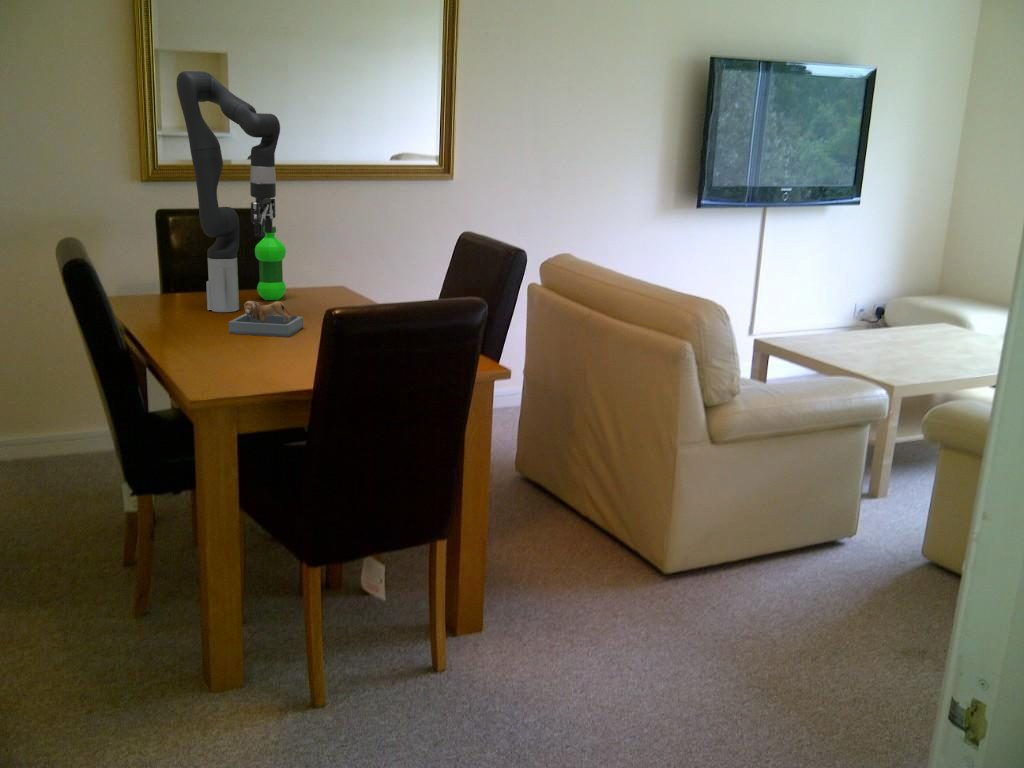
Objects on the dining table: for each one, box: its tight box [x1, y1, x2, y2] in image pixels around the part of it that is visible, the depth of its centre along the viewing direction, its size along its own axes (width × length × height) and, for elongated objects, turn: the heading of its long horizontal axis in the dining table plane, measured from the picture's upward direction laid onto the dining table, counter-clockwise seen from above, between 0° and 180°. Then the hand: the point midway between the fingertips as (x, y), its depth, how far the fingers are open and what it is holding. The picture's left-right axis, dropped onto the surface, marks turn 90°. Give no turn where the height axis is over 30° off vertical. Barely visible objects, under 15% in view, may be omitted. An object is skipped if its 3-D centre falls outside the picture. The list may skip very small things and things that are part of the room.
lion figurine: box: [243, 300, 297, 323], centre depth 309 cm, size 15×5×9 cm, turn 86°
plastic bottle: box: [254, 225, 287, 301], centre depth 356 cm, size 10×10×25 cm
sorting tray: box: [228, 312, 304, 338], centre depth 311 cm, size 18×13×4 cm
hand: (263, 234), depth 319 cm, fingers open, 8 cm apart
